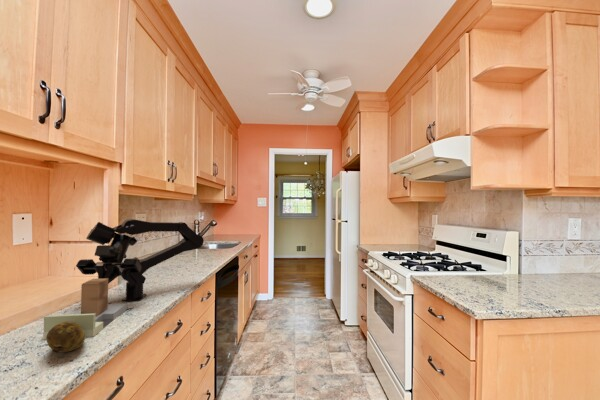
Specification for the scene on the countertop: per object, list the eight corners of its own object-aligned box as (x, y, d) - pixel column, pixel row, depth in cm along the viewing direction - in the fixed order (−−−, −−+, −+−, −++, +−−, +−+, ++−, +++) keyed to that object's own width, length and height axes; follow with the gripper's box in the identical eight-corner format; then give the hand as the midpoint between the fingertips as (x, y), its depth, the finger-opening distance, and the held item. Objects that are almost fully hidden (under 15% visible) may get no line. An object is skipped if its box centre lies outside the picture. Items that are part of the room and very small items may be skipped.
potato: (98, 336, 76) (98, 307, 76) (74, 362, 63) (75, 327, 63) (61, 340, 73) (62, 310, 73) (29, 368, 61) (30, 332, 61)
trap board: (88, 310, 93) (88, 292, 93) (126, 309, 95) (127, 291, 95) (43, 339, 74) (43, 317, 74) (93, 336, 75) (93, 314, 75)
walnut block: (92, 309, 89) (93, 278, 89) (107, 309, 90) (108, 278, 90) (80, 317, 83) (81, 284, 83) (97, 316, 84) (97, 283, 84)
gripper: (79, 236, 94) (55, 277, 83) (138, 235, 96) (121, 275, 85) (93, 254, 102) (72, 294, 91) (147, 253, 104) (133, 292, 93)
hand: (99, 289), depth 90 cm, fingers closed
